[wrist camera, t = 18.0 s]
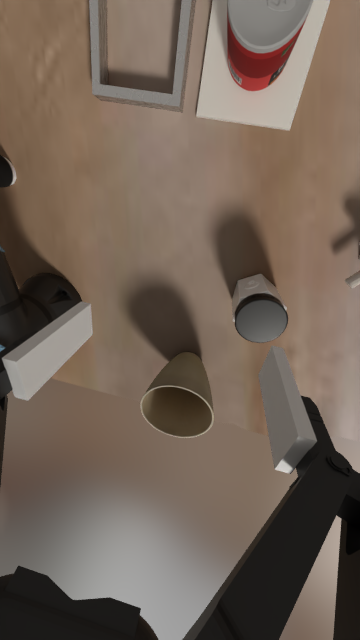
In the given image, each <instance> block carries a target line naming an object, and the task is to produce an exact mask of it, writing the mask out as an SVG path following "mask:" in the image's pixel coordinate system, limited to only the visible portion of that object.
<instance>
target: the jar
mask: <svg viewBox="0 0 360 640" xmlns="http://www.w3.org/2000/svg"><path fill="white" fill-rule="evenodd" d="M286 309H287V307H286V305H285V303H284V301H283V299H282V298H281V296H280V294H279V292H278V290H277V288H276V287H275V286H274V285H273V284H272V283H271V282H269V281H268V280H267V279H266V278H265V277H264V276H263V275H262V274H257V275H254V276H251V277H247V278H244V279H240V280H238V281H237V284H236V288H235V291H234V295H233V298H232V315H233V321H234V322H235V327H236V329H237V331H238V333H239V334H240V335H241V336H242V337H243V338H245V339H246V340H249V341H251V342H257V343H263V342H268V341H271V340H274V339H275V338H277V337H279V336H280V335H281V334H282V333H283V332H284V330H285V329H286V326H287V323H288V315H287V312H286Z"/></svg>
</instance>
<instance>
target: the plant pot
mask: <svg viewBox="0 0 360 640" xmlns="http://www.w3.org/2000/svg"><path fill="white" fill-rule="evenodd" d="M140 405H141V406H140V407H141V412H142V414H143V416H144V418H145V419H146V421H147V422H148V423H149V424H150V425H151V426H152V427H154V428H155V429H157V430H159V431H160V432H162V433H165V434H167V435H170V436H174V437H181V438H191V437H196V436H200V435H202V434H204V433H206V432H207V431H208V430H209V429H210V428H211V426H212V424H213V421H214V412H213V403H212V395H211V390H210V385H209V381H208V377H207V374H206V371H205V368H204V366H203V363H202V361H201V359H200V358H199V357H198V356H197V355H195V354H194V353H190V352H183V353H180V354H178V355H177V356H176V357H174V358H173V359H172V360H171V361H170V362H169V363H168V364H167V365H166V366H165V367H164V368H163V369H162V370H161V372H160V373H159V374H158V375H157V376H156V378H155V379H154V381H153V382H152V383H151V385H150V387H149V388H148V390H147V391H146V393H145V394H144V396H143V398H142V400H141V404H140Z"/></svg>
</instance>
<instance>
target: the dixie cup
mask: <svg viewBox="0 0 360 640" xmlns="http://www.w3.org/2000/svg"><path fill="white" fill-rule="evenodd" d="M15 181H16V171H15V169H14V166H13V165H12V163H11V162H10V161H9V160H8V159H7V158H5V157H3V156H1V155H0V188H1V187H8V186H10V185H13V184H14V183H15Z"/></svg>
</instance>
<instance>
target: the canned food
mask: <svg viewBox="0 0 360 640" xmlns="http://www.w3.org/2000/svg"><path fill="white" fill-rule="evenodd" d="M312 3H313V0H227V52H228V67H229V71H230V74H231V76H232V78H233V80H234V81H235V82H236V84H237V85H238V86H240V87H241V88H243V89H245V90H247V91H259V90H262V89H264V88H266V87H268V86H269V85H271V84H272V83H273V82H274V81H275V80H276V79H277V78H278V77H279V75H280V74H281V73H282V71H283V69H284V67H285V66H286V63H287V61H288V59H289V57H290V55H291V52H292V50H293V48H294V46H295V43H296V41H297V39H298V37H299V34H300V32H301V30H302V28H303V26H304V23H305V21H306V18H307V16H308V14H309V11H310V8H311V6H312Z"/></svg>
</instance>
